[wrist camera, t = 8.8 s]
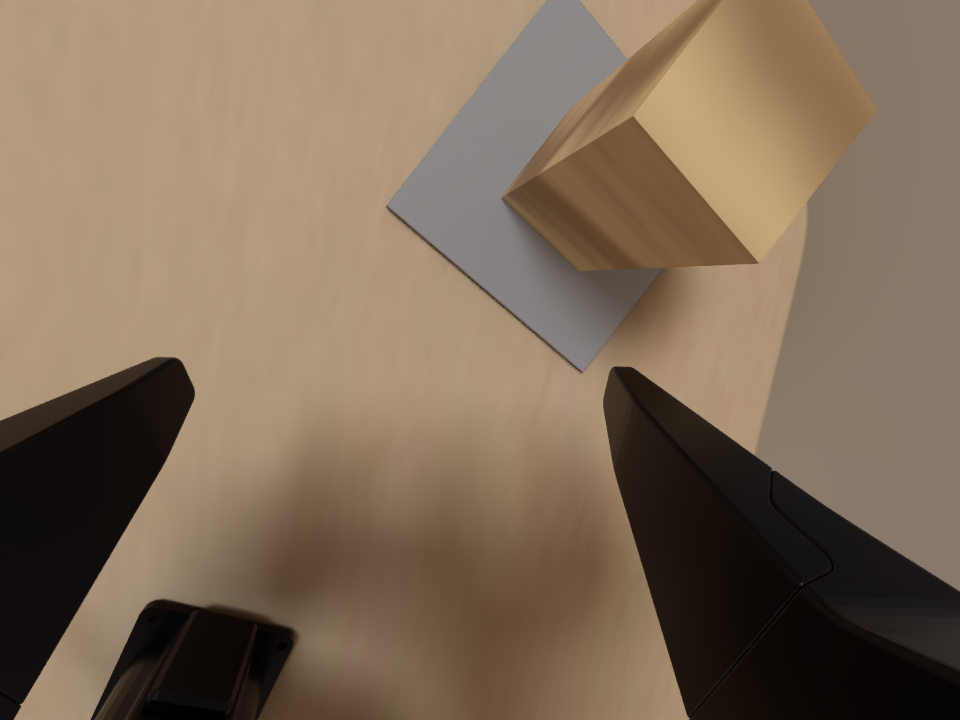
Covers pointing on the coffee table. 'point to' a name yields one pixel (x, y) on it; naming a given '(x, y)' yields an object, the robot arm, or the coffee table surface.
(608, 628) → the coffee table surface
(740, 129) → the letter block
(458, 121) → the felt mat
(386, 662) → the coffee table surface
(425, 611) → the coffee table surface
